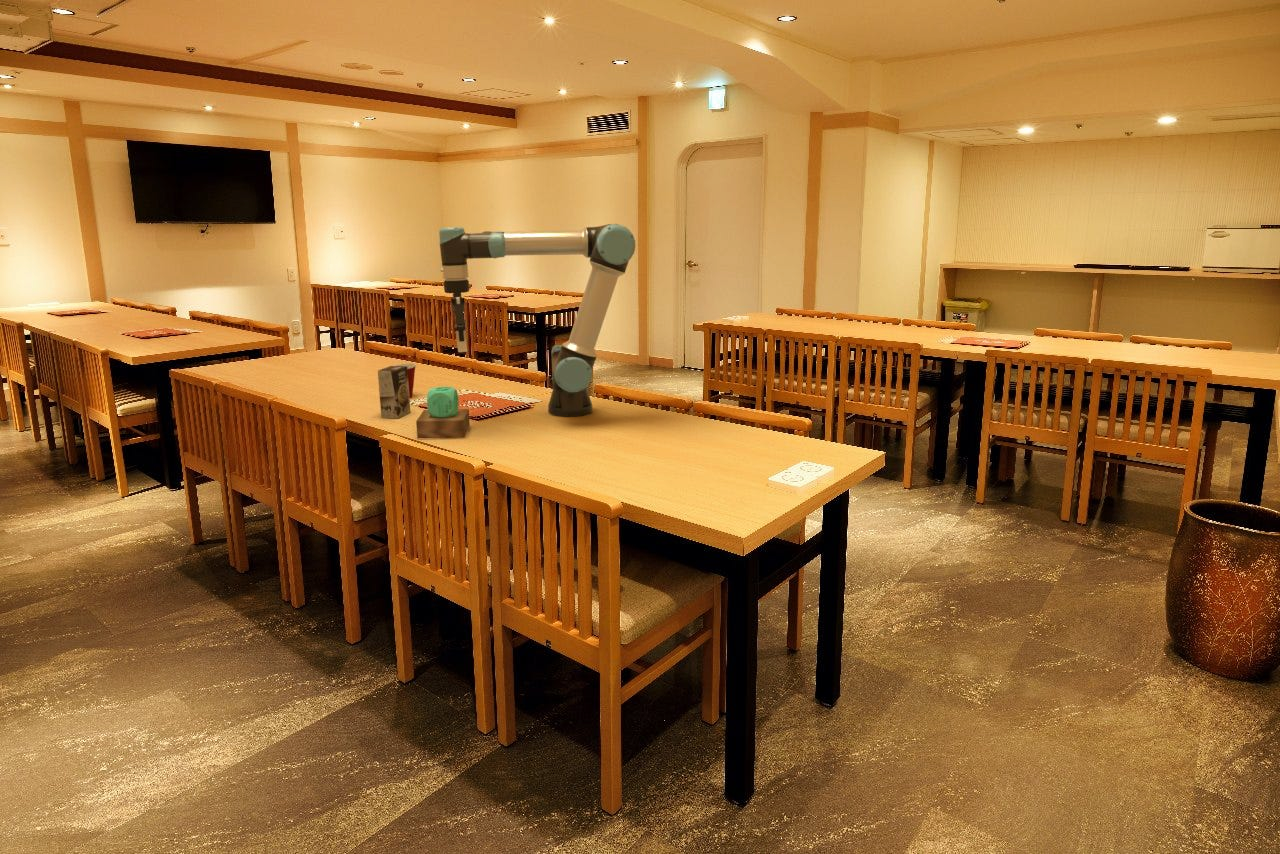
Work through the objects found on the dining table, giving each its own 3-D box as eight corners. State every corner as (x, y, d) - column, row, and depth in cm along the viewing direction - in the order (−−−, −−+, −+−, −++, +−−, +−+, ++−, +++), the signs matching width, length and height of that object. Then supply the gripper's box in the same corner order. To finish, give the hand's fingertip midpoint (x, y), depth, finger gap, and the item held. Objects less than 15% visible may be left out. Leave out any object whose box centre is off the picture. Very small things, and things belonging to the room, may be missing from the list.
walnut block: (469, 427, 253) (468, 409, 252) (464, 439, 240) (463, 420, 238) (425, 428, 252) (423, 410, 250) (417, 440, 238) (416, 421, 237)
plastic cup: (387, 395, 295) (385, 363, 292) (418, 393, 298) (415, 361, 295) (388, 401, 285) (385, 368, 282) (419, 399, 288) (416, 367, 285)
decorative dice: (427, 417, 241) (425, 392, 238) (433, 411, 248) (431, 386, 246) (454, 417, 241) (452, 392, 239) (459, 411, 248) (457, 386, 246)
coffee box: (398, 419, 261) (394, 370, 257) (380, 418, 262) (376, 370, 258) (411, 412, 270) (408, 365, 266) (394, 411, 271) (390, 365, 267)
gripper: (443, 276, 252) (449, 342, 258) (443, 283, 229) (450, 355, 235) (467, 275, 254) (472, 341, 260) (469, 281, 231) (476, 353, 236)
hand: (462, 348), depth 247 cm, fingers open, 13 cm apart
